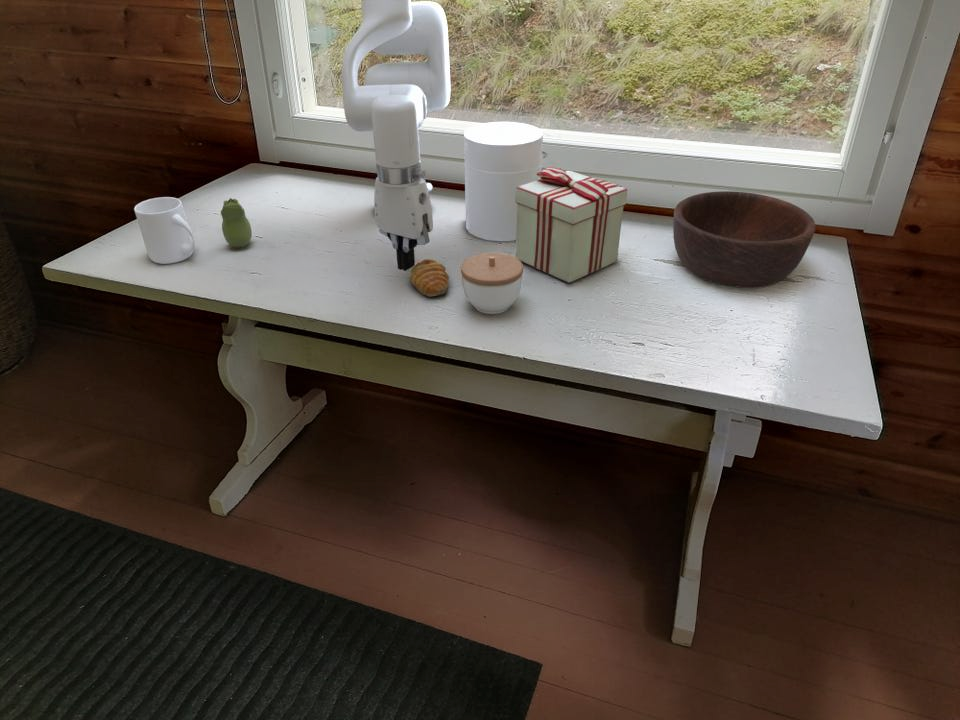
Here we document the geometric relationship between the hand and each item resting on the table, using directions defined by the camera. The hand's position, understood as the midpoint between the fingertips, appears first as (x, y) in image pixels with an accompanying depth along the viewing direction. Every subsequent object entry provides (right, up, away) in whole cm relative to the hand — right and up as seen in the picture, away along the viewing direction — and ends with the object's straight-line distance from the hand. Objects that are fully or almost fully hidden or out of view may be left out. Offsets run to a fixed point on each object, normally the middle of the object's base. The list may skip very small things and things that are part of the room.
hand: (406, 267), depth 130 cm
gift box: (+31, +3, +8) cm, 32 cm away
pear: (-36, +6, +14) cm, 39 cm away
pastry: (+5, -4, -1) cm, 6 cm away
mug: (-47, +3, +10) cm, 48 cm away
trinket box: (+16, -8, -7) cm, 19 cm away
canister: (+19, +12, +21) cm, 30 cm away
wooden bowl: (+63, +1, +5) cm, 63 cm away
